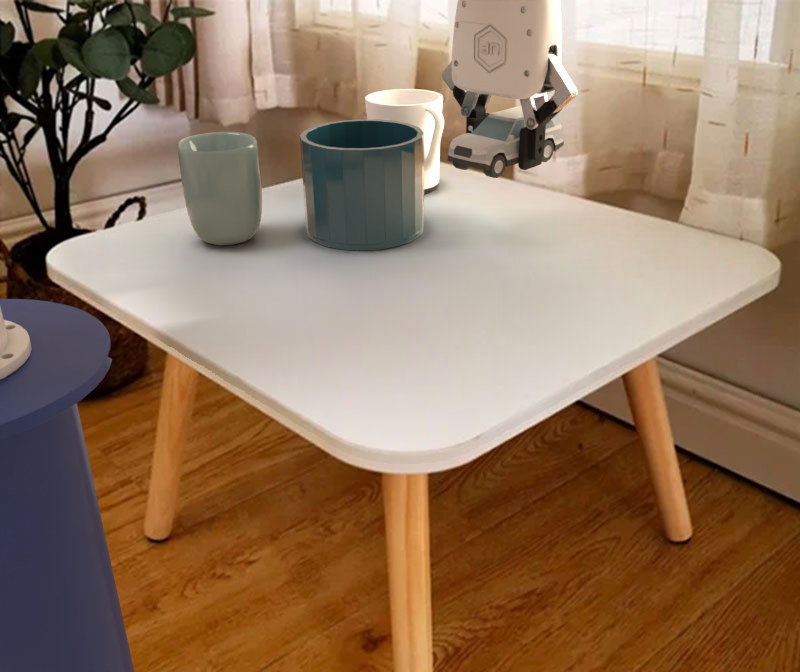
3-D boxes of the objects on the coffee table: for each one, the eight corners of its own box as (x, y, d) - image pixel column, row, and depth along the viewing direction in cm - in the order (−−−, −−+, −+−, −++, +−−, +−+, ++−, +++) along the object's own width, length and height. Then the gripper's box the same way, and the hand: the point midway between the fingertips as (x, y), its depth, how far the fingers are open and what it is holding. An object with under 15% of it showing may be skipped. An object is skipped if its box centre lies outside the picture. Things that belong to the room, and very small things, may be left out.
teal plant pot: (367, 259, 91) (363, 156, 86) (282, 232, 98) (274, 136, 93) (447, 227, 99) (448, 131, 94) (363, 204, 106) (360, 113, 101)
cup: (258, 223, 101) (250, 128, 96) (272, 246, 95) (264, 147, 90) (185, 231, 99) (172, 135, 94) (194, 256, 93) (181, 155, 88)
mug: (352, 185, 112) (349, 96, 107) (409, 171, 117) (408, 85, 112) (411, 206, 105) (410, 112, 100) (469, 190, 110) (471, 100, 105)
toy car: (439, 172, 92) (439, 120, 90) (523, 147, 100) (525, 98, 98) (483, 184, 89) (484, 130, 86) (567, 157, 96) (570, 107, 94)
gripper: (412, -38, 88) (414, 154, 97) (568, -29, 78) (554, 185, 87) (462, -44, 93) (460, 140, 102) (616, -36, 83) (598, 168, 92)
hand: (503, 159), depth 94 cm, fingers closed on toy car, 5 cm apart
